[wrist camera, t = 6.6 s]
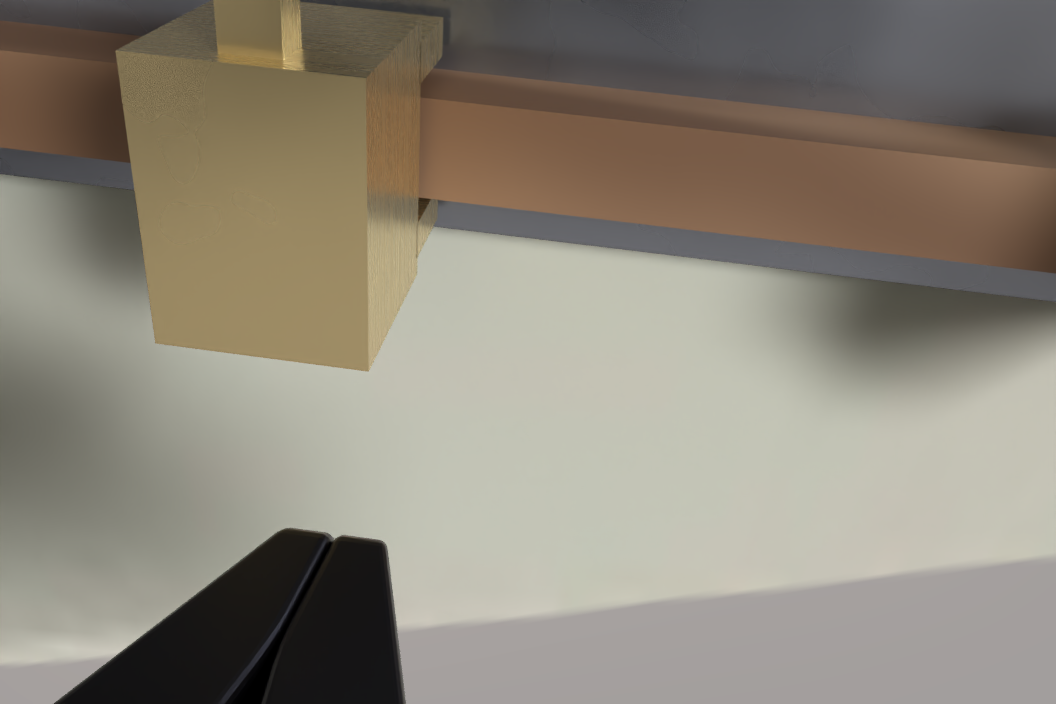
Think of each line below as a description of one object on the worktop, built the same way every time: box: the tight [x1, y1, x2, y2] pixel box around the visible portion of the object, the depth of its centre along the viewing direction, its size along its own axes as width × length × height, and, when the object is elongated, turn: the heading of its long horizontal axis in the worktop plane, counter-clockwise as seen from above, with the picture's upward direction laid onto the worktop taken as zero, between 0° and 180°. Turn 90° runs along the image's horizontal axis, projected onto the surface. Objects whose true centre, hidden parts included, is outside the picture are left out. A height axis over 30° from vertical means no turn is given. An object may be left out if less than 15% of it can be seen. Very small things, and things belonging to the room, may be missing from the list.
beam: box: [0, 21, 1056, 274], centre depth 14 cm, size 7×25×5 cm, turn 86°
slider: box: [115, 0, 444, 371], centre depth 14 cm, size 7×3×5 cm, turn 176°
